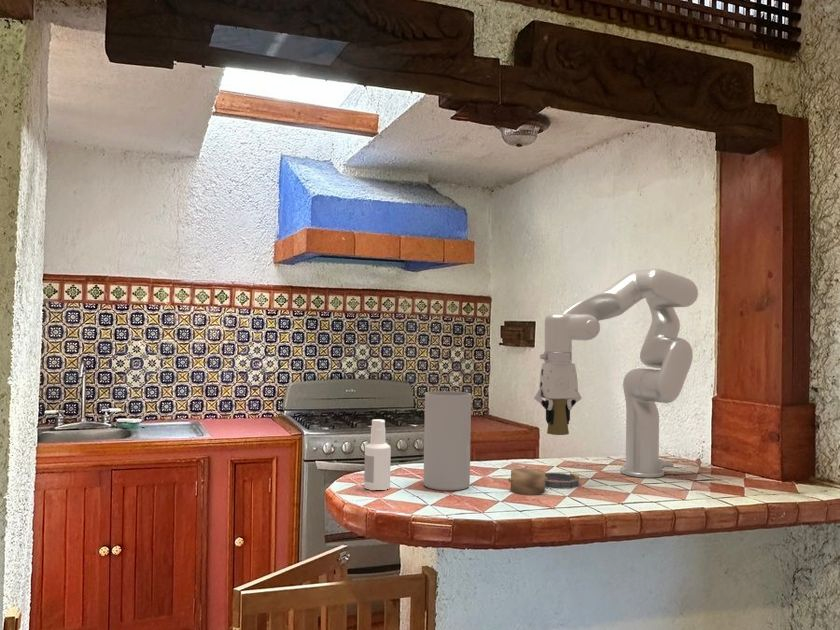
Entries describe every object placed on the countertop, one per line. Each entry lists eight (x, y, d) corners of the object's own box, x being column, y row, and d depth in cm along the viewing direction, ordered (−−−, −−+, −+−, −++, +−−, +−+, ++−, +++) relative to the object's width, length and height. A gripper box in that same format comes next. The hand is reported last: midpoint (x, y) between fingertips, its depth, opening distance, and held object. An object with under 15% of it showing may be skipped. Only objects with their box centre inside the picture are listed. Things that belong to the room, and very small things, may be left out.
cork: (570, 435, 189) (570, 395, 190) (547, 434, 190) (548, 394, 190) (567, 431, 195) (567, 393, 196) (546, 431, 196) (546, 392, 196)
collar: (566, 477, 200) (567, 470, 200) (586, 487, 188) (586, 479, 188) (526, 479, 197) (526, 471, 197) (544, 488, 185) (544, 480, 185)
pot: (539, 486, 188) (539, 467, 188) (553, 494, 179) (553, 474, 179) (502, 487, 185) (503, 468, 186) (515, 495, 177) (515, 475, 177)
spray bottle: (373, 484, 186) (375, 417, 187) (394, 487, 183) (396, 419, 183) (358, 489, 180) (360, 420, 181) (380, 492, 177) (381, 422, 177)
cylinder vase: (458, 479, 194) (460, 391, 195) (477, 489, 182) (478, 395, 183) (416, 482, 190) (418, 391, 190) (433, 492, 178) (434, 396, 178)
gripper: (535, 359, 187) (535, 426, 187) (591, 359, 191) (591, 425, 191) (525, 358, 195) (524, 422, 194) (579, 357, 199) (579, 421, 198)
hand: (557, 423), depth 193 cm, fingers closed on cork, 3 cm apart
